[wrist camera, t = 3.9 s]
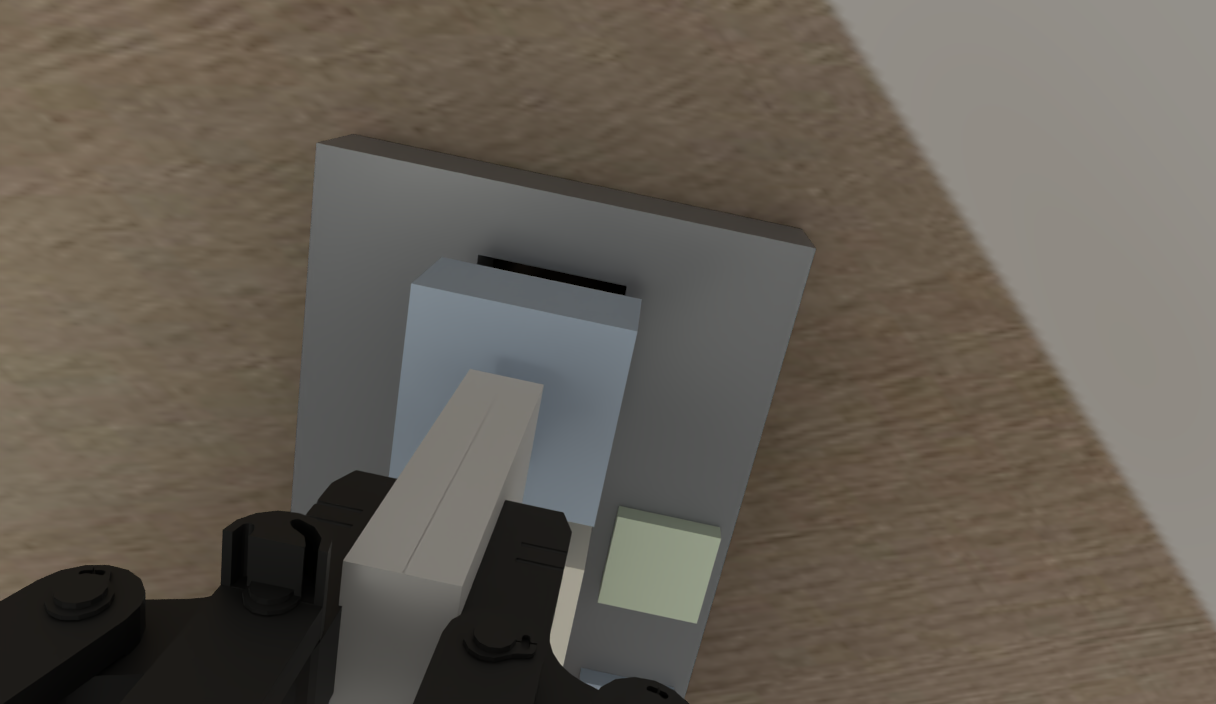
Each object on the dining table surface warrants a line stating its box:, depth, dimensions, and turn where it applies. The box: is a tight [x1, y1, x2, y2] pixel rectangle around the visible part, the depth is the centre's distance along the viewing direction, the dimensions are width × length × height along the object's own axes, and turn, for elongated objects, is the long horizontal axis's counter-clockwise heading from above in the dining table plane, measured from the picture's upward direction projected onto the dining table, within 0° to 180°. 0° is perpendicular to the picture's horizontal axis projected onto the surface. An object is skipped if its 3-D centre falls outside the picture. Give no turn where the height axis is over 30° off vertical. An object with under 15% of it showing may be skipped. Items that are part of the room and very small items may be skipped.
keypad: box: [291, 134, 816, 704], centre depth 26 cm, size 26×13×3 cm, turn 169°
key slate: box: [389, 257, 642, 527], centre depth 20 cm, size 5×5×5 cm
